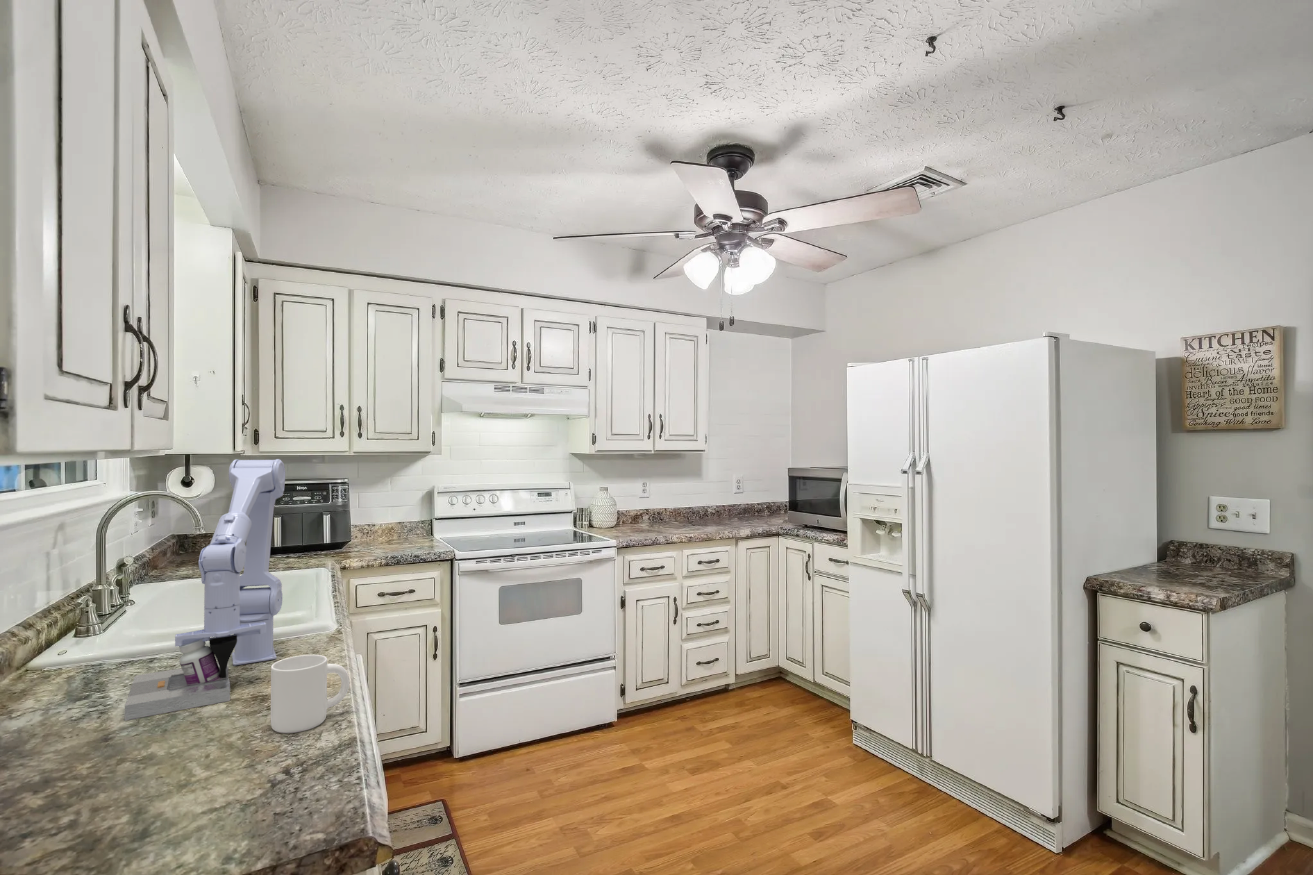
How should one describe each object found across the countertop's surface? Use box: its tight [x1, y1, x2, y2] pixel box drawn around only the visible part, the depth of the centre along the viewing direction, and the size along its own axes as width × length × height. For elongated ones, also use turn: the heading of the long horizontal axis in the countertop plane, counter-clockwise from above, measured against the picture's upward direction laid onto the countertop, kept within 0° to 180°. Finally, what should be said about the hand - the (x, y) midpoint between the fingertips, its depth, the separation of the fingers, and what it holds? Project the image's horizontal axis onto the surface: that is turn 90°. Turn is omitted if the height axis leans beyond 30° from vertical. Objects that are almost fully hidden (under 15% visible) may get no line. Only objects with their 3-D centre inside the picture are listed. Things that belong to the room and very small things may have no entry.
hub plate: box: [124, 662, 231, 721], centre depth 121 cm, size 18×15×3 cm
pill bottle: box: [178, 639, 222, 685], centre depth 123 cm, size 5×5×10 cm
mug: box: [270, 654, 351, 734], centre depth 110 cm, size 12×8×10 cm
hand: (221, 677), depth 124 cm, fingers closed, pressing on pill bottle
